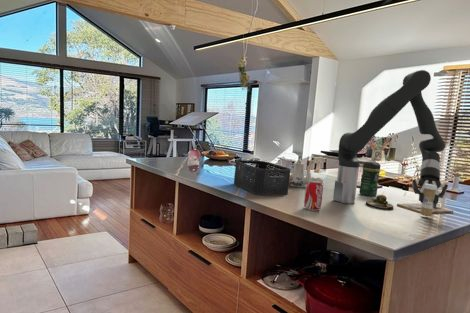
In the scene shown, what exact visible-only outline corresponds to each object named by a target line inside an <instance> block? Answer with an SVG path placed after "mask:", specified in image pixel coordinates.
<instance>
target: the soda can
mask: <svg viewBox="0 0 470 313" xmlns="http://www.w3.org/2000/svg"><path fill="white" fill-rule="evenodd" d="M323 192H324V185H323V183H322V181H318V180H308V182H307V184H306V185H305V190H304V200H303V207H304V208H305V209H306V210H308V211H311V212H317V211H320V209H321V208H322V203H323Z"/></svg>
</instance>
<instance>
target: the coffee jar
mask: <svg viewBox="0 0 470 313" xmlns="http://www.w3.org/2000/svg"><path fill="white" fill-rule="evenodd" d="M380 171H381V164H380V163H379V162H377V161H365V162H364V163H363V165H362V174H361V179H360V180H361V181H360V186H359V192H358V193H359V195H363V196H369V197H373V196H378V195H377V194H378V186H379V176H380Z"/></svg>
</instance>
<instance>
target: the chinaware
mask: <svg viewBox="0 0 470 313" xmlns="http://www.w3.org/2000/svg"><path fill="white" fill-rule="evenodd" d="M289 165H292V167H293V168H294V170H293V172H292V173H291V172H290V178H289V186H291V187H296V188H304V187H305V188H306V184H307V182H308V180H318V181H322V185H323V186H324V181H325V178H321V177H316V178H315V176H314V177H313V176H312V175H311V169H310V167H311V166H312V164H308V165H307V167H306V175H305V170H304V169H305V166H306V163H304V162H303V160H302V159H301V158H299V159H298V160H297V161H295V162H294V163H293V162H292V163H291V162H290V163H288V164H286V166H285V167H286V168H288V166H289Z"/></svg>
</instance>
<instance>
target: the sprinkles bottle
mask: <svg viewBox="0 0 470 313" xmlns="http://www.w3.org/2000/svg"><path fill="white" fill-rule="evenodd" d="M436 189H437V186H436V185H433V184H425V185H424V194H423V202H422V205H421V212H420V213H419V214H420V215H421V216H424V217H432V216H433V214H432V211H433V206H434V199H435V192H436Z"/></svg>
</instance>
